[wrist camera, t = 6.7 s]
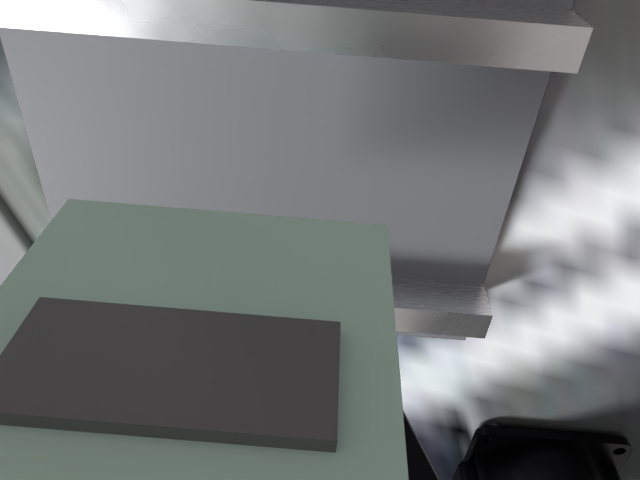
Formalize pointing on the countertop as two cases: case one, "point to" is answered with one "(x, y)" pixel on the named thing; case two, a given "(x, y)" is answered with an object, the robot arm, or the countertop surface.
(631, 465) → the countertop surface
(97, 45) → the mounting board
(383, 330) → the green module
